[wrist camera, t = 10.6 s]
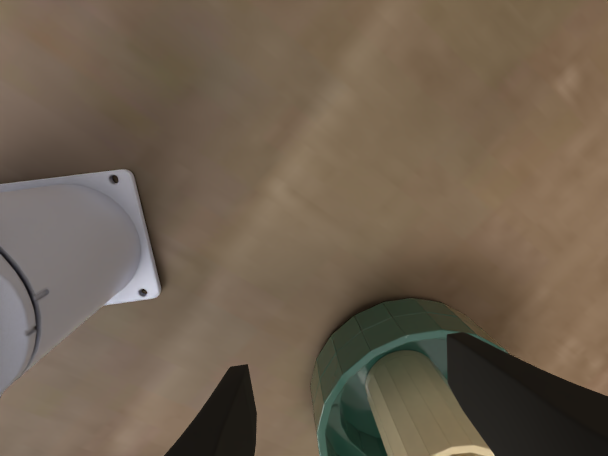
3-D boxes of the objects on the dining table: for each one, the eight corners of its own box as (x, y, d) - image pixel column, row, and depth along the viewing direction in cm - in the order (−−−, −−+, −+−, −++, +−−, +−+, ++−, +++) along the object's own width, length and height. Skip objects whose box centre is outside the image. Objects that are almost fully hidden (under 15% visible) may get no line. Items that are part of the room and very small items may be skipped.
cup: (364, 417, 23) (403, 538, 16) (365, 353, 22) (407, 451, 15) (435, 410, 24) (505, 525, 16) (439, 346, 22) (517, 440, 15)
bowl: (320, 463, 24) (329, 530, 20) (300, 309, 21) (305, 350, 17) (484, 436, 25) (527, 496, 21) (487, 283, 22) (538, 315, 18)
